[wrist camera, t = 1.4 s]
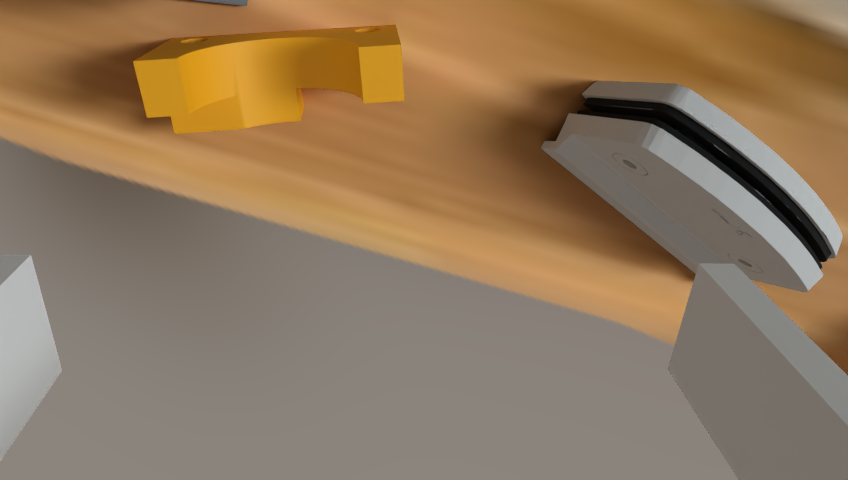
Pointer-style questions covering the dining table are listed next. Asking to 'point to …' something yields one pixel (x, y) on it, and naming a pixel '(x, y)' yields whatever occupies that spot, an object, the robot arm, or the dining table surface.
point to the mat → (228, 2)
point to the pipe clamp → (265, 74)
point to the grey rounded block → (697, 182)
